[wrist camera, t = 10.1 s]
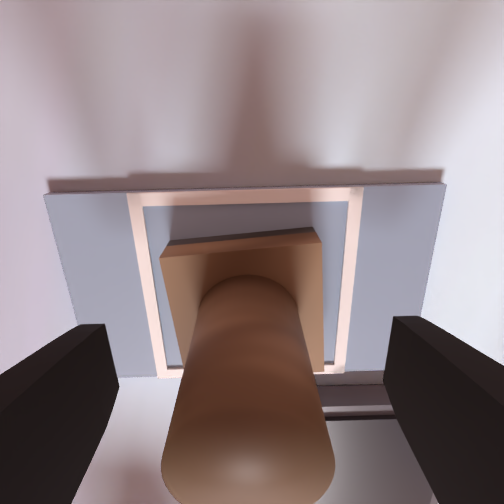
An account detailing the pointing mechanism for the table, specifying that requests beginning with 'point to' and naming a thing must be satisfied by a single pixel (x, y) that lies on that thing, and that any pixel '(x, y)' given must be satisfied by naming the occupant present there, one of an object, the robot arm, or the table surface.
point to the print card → (236, 222)
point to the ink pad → (370, 450)
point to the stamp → (247, 369)
